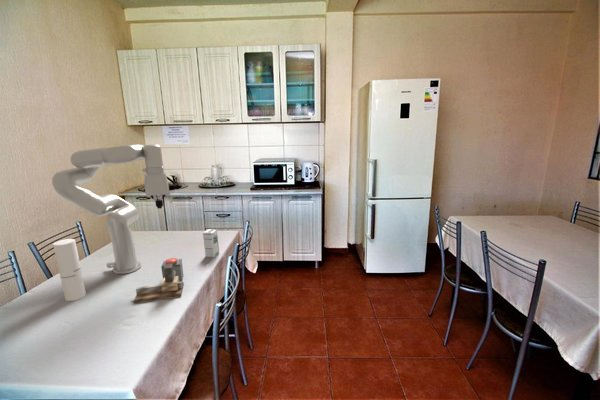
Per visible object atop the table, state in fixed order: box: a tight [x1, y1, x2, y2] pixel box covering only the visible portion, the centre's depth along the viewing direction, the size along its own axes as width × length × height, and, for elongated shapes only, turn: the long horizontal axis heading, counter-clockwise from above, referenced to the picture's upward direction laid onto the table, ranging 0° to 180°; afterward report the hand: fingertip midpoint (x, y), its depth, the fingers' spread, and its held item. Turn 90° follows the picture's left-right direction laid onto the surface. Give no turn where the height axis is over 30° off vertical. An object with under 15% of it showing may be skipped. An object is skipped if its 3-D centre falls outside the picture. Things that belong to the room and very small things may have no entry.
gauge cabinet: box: [160, 258, 185, 282], centre depth 138 cm, size 8×6×9 cm
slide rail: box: [133, 281, 185, 304], centre depth 127 cm, size 18×10×4 cm, turn 105°
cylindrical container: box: [52, 238, 87, 302], centre depth 124 cm, size 7×7×25 cm
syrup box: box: [202, 228, 220, 258], centre depth 165 cm, size 6×6×14 cm
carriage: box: [160, 264, 179, 292], centre depth 127 cm, size 6×6×10 cm
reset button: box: [164, 257, 178, 264], centre depth 138 cm, size 5×5×6 cm
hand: (159, 207), depth 145 cm, fingers closed
